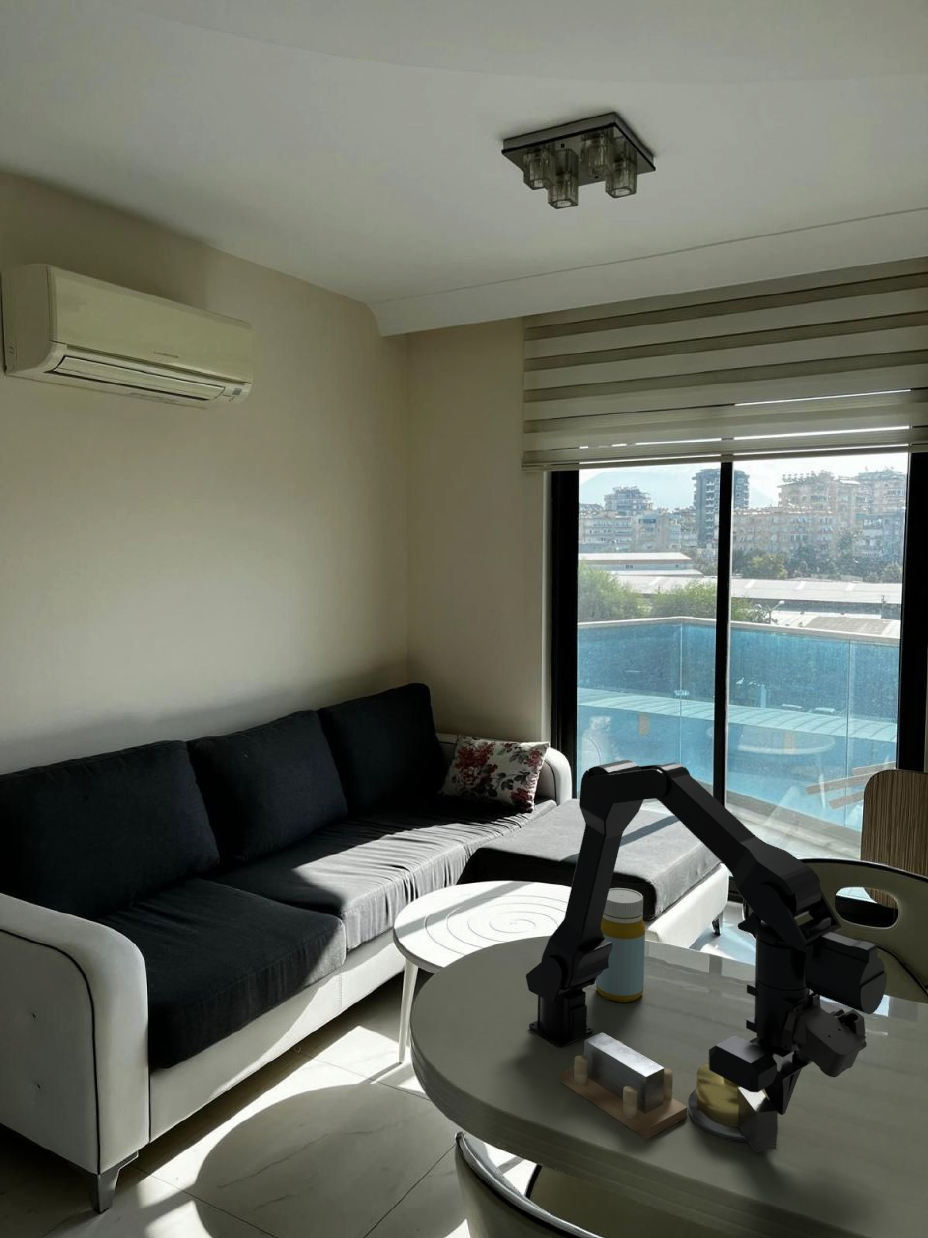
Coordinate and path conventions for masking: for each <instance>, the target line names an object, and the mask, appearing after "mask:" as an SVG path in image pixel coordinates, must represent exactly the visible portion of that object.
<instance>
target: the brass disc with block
mask: <svg viewBox="0 0 928 1238" xmlns="http://www.w3.org/2000/svg"><path fill="white" fill-rule="evenodd" d="M696 1071H697V1072H696V1075H695V1076H696V1082H695V1089H696V1103H697V1106H698V1108H699V1109H700V1110H701V1111H702V1112H703V1113H704V1114H705V1115H706V1116H708V1117H710V1118H711V1119H713V1120H715V1121H717V1122H720V1123H723V1124H726V1125H730V1126H736V1127H738V1128H739V1129H740V1130H741V1132H742V1133H743V1135H744V1136H745V1137H746V1139H747V1140H748V1142H747V1143H749V1145H750V1146H751V1147H752V1149H753V1150H754V1151H755V1152H764V1151H775V1150H777V1142H778V1141H777V1140H778V1115H779V1113H778V1111H777V1109H776V1108H775V1107H774V1106H773V1104H772V1103H771V1102H770V1100H769V1098H768V1096H767V1094H766V1092H765V1090H764V1089H763V1090H761V1091H760V1092H749V1091H748V1090H746V1089H744V1088H742V1087H740V1086H738V1085H736V1084H733V1083H729V1082H727V1081H726V1080H724V1078H723V1077H721V1076H720V1075H718V1074H716V1073H714V1072H712V1071H710V1070H709V1062H706V1063H705V1064H702V1065H701V1066H700V1067H699V1068H698V1069H697V1070H696Z"/></svg>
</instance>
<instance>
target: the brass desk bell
mask: <svg viewBox="0 0 928 1238" xmlns="http://www.w3.org/2000/svg"><path fill="white" fill-rule="evenodd" d="M724 1080H726V1081H727V1082H729V1083H733V1082H731V1081H729V1080H727V1079H725V1078H724ZM733 1084H734V1083H733ZM687 1110H688V1114H689V1116H690V1118H691V1120H692V1121H693V1123H694V1124H695V1125H697V1126H698V1127H699V1128H700V1129H701V1130H702V1131H704V1132H706V1133H708V1134H709V1135H712V1136H714V1137H716V1138H718V1139H722V1140H725V1141H729V1142H730V1141H731V1142H737V1143H749V1142H748V1140H747V1139H746V1137H745V1136H744V1135H743V1133H742V1132H741V1130H740V1129H739V1128H738V1127H736V1126H730V1125H726V1124H723V1123H720V1122H717V1121H715V1120H713V1119H711V1118H710V1117H708V1116H706V1115H705V1114H704V1113H703V1112H702V1111H701V1110H700V1109H699V1108H698V1106H697V1103H696V1088H695V1089H694V1090H693V1091H692V1092H690V1094H689V1098H688V1107H687Z"/></svg>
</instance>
